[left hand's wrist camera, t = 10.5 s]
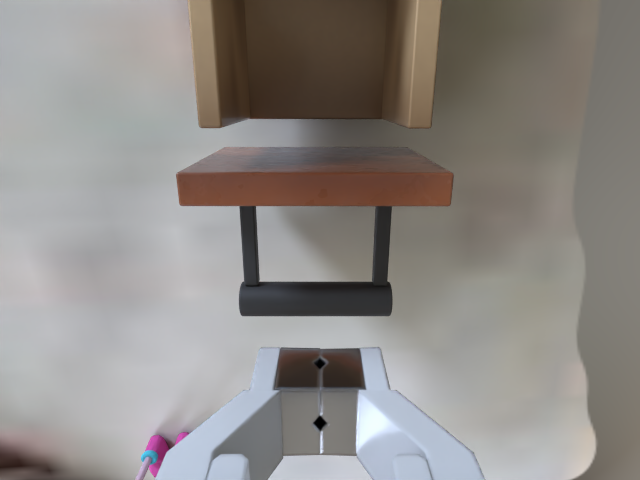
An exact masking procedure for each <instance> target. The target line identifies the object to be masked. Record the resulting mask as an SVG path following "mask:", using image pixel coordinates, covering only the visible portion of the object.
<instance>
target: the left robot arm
mask: <svg viewBox="0 0 640 480" xmlns="http://www.w3.org/2000/svg"><path fill="white" fill-rule="evenodd" d="M296 455H344V456H357V458H358V460H359V461H360V463H361V464H362V465H363V467H364V468H365V469H366V471H367V472H368V474H369V475H370V476H371V478H372V479H373V480H485V478H484V476H483V473H482V471H481V469H480V466H479V464H478V462H477V459H476V457H475V454H474V453H473V452H472V451H471V450H470V449H469V448H467V447H466V446H465V445H464V444H462V443H461V442H460V441H459V440H457V439H456V438H455V437H454V436H453V435H451V434H450V433H449V432H448V431H446V430H445V429H444V428H443V427H441V426H440V425H439V424H438V423H436V422H435V421H434V420H433V419H432V418H430V417H429V416H428V415H427V414H425V413H424V412H423V411H422V410H420V409H419V408H418V407H417V406H415V405H414V404H413V403H412V402H411V401H409V400H408V399H407V398H406V397H404V396H403V395H402V394H401V393H399V392H398V391H397V390H390V386H389V381H388V377H387V373H386V369H385V365H384V360H383V356H382V352H381V349H380V348H379V347H371V348H346V349H320V348H279V347H274V348H260V350H259V352H258V356H257V360H256V364H255V369H254V373H253V377H252V381H251V385H250V390H243V391H242V392H241V393H239V394H238V395H237V396H236V397H234V398H233V399H232V400H231V401H229V402H228V403H227V404H226V405H224V406H223V407H222V408H221V409H220V410H218V411H217V412H216V413H215V414H213V415H212V416H211V417H210V418H208V419H207V420H206V421H205V422H203V423H202V424H201V425H200V426H198V427H197V428H196V429H195V430H193V431H192V432H191V433H190V434H188V435H187V436H186V437H185V438H184V439H182V440H181V441H180V442H179V443H177V444H176V445H175V446H174V447H172V448H171V449H170V450H169V451H167V453H166V455H165V457H164V460H163V462H162V464H161V467H160V469H159V471H158V474H157V476H156V478H155V480H267V479H268V478H269V477H270V475H271V474H272V473H273V471H274V470H275V469H276V467H277V466H278V464H279V463H280V462H281V460H282V459H283V456H296Z"/></svg>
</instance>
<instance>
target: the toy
mask: <svg viewBox="0 0 640 480" xmlns="http://www.w3.org/2000/svg"><path fill="white" fill-rule="evenodd" d="M188 434H189V433H186V432H183V433H180V434H179V435H178V437H177V440H176V443H175V445H176V444H177V443H179V442H180V441H181V440H182V439H184V438H185V437H186V436H187V435H188ZM167 451H169V448H168V445H167V443H166V441H165V440H164V438H163V437H161V436H160V435H155V436H152V437H151V439H150V441H149V443H148V445H147V448H146V450H145V452H144V453H143V454H142V456H141V460H142V462H143V464H142V466H141V468H140V471H139V473H138V475H137V477H136V479H135V480H143V479H144V476H145V474H146V472H147V470H148V468H149V470H150V472H151V473H152V474H153V476H154V477H156V476H157V474H158V471H159V469H160V467H161V464H162V462H163V460H164V457H165V455H166V453H167Z"/></svg>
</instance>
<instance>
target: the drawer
mask: <svg viewBox="0 0 640 480" xmlns="http://www.w3.org/2000/svg"><path fill="white" fill-rule="evenodd" d="M441 8H442V0H188V10H189V22H190V33H191V44H192V55H193V66H194V77H195V88H196V99H197V110H198V122H199V127H201V128H222V127H225V126H228V125H231V124H234V123H237V122H241V121H244V120H247V119H384V120H387V121H390V122H393V123H396V124H398V125H401V126H404V127H407V128H431V124H432V113H433V101H434V90H435V78H436V66H437V55H438V43H439V32H440V20H441ZM176 178H177V187H178V196H179V204H180V205H181V206H240V220H241V236H242V252H243V268H244V282H242V284H241V287H240V293H239V309H240V313H241V315H242V316H390V315H391V312H392V289H391V285H390V283H389V282H387V276H388V260H389V243H390V226H391V210H392V206H450V204H451V197H452V187H453V178H454V174H453V173H452V172H450V171H448V170H446V169H445V168H443V167H441V166H439V165H438V164H436V163H434V162H432V161H430V160H429V159H427V158H425V157H423V156H422V155H420V154H418V153H416V152H415V151H413V150H411V149H409V148H407V147H224V148H222V149H221V150H219V151H217V152H215V153H213V154H211V155H209V156H208V157H206V158H204V159H202V160H200V161H198V162H196V163H195V164H193V165H191V166H189V167H187V168H185V169H183V170H182V171H180V172H178V173H177V174H176ZM256 206H376V209H375V230H374V252H373V273H372V281H373V282H259V260H258V240H257V220H256Z"/></svg>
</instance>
